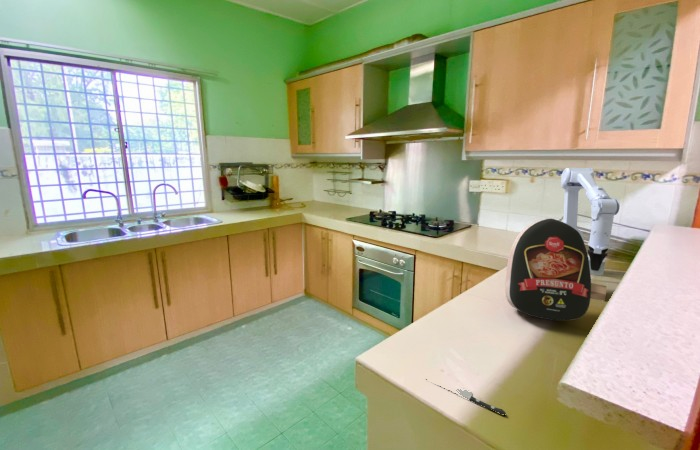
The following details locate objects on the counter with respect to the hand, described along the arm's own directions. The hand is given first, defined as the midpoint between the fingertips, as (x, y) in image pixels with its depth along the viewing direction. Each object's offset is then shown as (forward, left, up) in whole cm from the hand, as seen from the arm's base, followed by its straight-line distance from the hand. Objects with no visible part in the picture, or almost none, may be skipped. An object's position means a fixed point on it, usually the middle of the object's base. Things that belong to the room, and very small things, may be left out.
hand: (594, 268), depth 116 cm
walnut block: (0, -4, -9) cm, 10 cm away
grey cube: (0, 0, -2) cm, 2 cm away
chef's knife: (-19, -83, -9) cm, 85 cm away
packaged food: (-12, -32, -9) cm, 35 cm away
